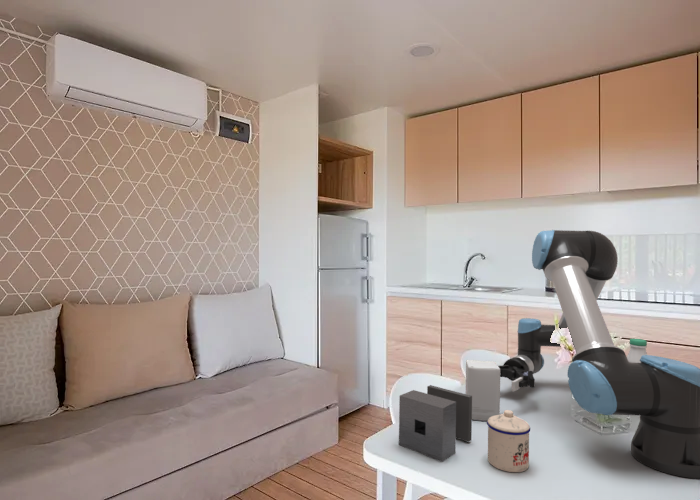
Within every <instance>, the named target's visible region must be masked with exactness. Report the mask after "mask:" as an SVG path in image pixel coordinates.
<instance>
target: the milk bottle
mask: <svg viewBox="0 0 700 500" xmlns="http://www.w3.org/2000/svg"><path fill="white" fill-rule="evenodd" d="M647 344H648V342H647V340H646V339H641V338H630V339H629V346H630V348H629V351H628V354H627V355H626V357H627V359H628V361H629V362H632V363H641V361H640V359H641V356H643V355H648V352H647Z"/></svg>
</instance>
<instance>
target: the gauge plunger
mask: <svg viewBox="0 0 700 500" xmlns="http://www.w3.org/2000/svg"><path fill="white" fill-rule="evenodd" d="M426 390H427V393H426V394H430V395H433V396H437V397H441V398H444V399H448V400H452V401H455V402H456V439H458V440H461V441H465V442H468V443H470V442H471V441H472V426H473V425H472V424H473V423H472V396H471V395H467V394H466V393H462V392H458V391H455V390H451V389H448V388H443V387H439V386H435V385H431V384H430V385H427V387H426Z"/></svg>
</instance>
